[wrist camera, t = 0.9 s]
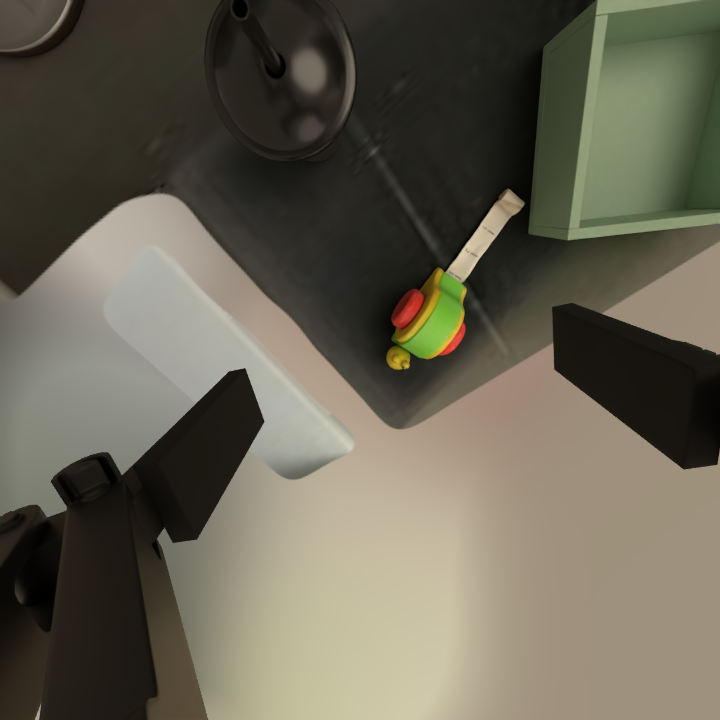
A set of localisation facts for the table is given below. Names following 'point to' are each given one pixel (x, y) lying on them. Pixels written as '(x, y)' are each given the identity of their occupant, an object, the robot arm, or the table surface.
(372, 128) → the table surface
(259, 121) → the drinking cup
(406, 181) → the table surface
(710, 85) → the tote
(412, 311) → the toy measuring tape
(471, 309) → the table surface
